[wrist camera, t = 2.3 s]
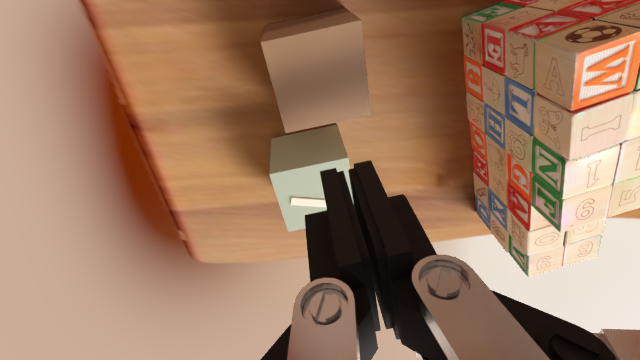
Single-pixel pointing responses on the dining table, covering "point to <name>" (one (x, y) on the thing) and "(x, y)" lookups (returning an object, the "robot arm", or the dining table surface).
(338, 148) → the block seven
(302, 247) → the dining table surface
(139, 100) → the dining table surface
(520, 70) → the stack of blocks
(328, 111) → the blank block
